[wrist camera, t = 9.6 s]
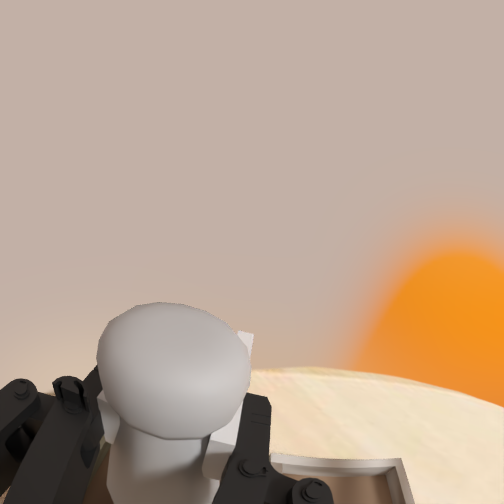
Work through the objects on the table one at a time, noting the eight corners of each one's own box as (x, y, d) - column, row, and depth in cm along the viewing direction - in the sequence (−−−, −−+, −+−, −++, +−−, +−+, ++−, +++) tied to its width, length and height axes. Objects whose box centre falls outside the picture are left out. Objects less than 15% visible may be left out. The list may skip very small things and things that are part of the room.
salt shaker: (101, 468, 11) (67, 276, 7) (185, 454, 14) (221, 277, 11) (136, 549, 7) (80, 439, 3) (231, 524, 10) (332, 377, 6)
